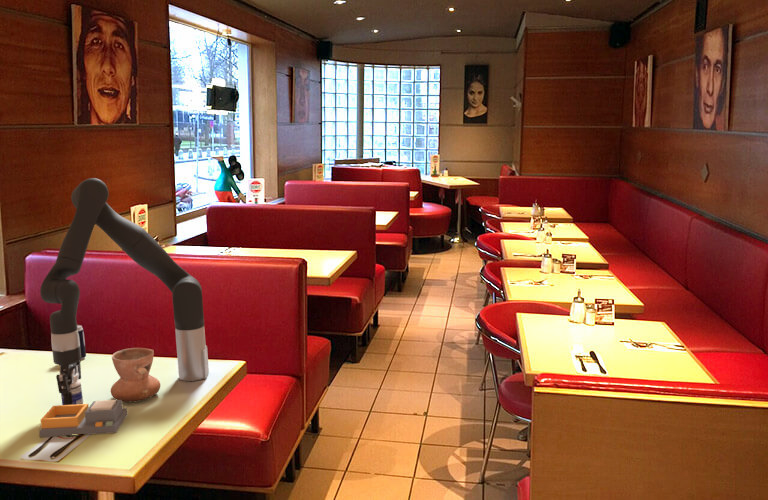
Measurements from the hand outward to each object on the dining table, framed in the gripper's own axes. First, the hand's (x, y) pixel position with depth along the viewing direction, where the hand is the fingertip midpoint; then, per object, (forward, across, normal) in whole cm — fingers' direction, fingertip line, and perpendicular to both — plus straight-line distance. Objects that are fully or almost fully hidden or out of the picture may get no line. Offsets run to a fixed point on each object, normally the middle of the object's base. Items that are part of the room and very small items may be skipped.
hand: (72, 399), depth 210 cm
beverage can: (+3, -46, -13) cm, 48 cm away
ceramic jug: (+3, -6, +17) cm, 18 cm away
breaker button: (0, +14, +13) cm, 19 cm away
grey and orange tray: (+2, +14, +8) cm, 16 cm away
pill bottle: (+2, 0, 0) cm, 2 cm away
